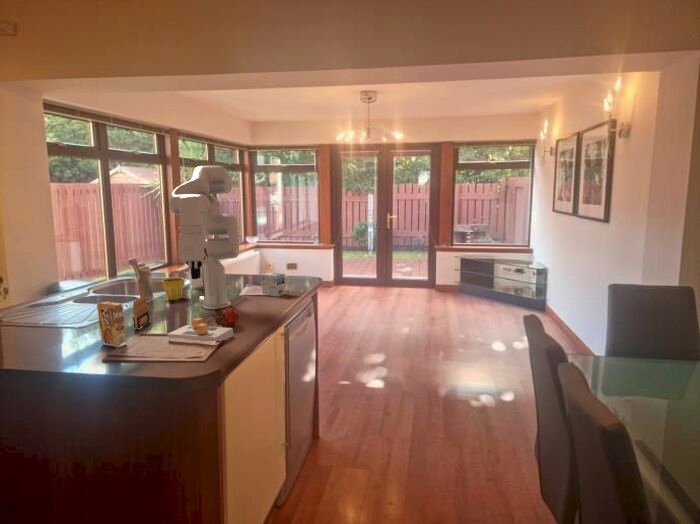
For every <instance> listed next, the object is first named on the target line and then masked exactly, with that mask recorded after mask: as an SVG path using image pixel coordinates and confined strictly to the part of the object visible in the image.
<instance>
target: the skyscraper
mask: <svg viewBox="0 0 700 524" xmlns="http://www.w3.org/2000/svg"><path fill="white" fill-rule="evenodd" d="M188 268H189V267H188ZM188 270H189V277H190V281H191V287H192V288H191V289H192V290H202V289H204V290H205V286H204V274H203V265H202V266H201V267H200V274H201V275H200V278H198V279H192V276H191V269H190V268H189V269H188Z"/></svg>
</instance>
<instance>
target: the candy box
mask: <svg viewBox="0 0 700 524" xmlns="http://www.w3.org/2000/svg"><path fill="white" fill-rule="evenodd" d="M96 307H97V314H98V322H99V329H100V330H99V331H100V336H101V337H100V338H101V343H102V342H105V343H108V344H113V345H119V344H122V343H124V342H127V343H128V340H127V333H126V325H125V317H124V308H123V303H121V302H111V301H104V302H99V303H97V304H96Z"/></svg>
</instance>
